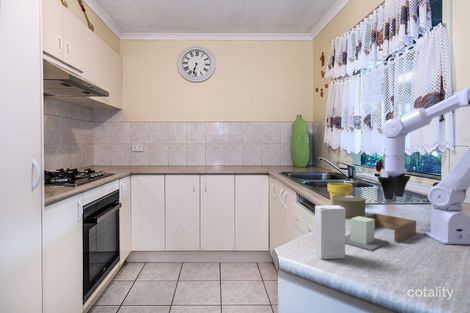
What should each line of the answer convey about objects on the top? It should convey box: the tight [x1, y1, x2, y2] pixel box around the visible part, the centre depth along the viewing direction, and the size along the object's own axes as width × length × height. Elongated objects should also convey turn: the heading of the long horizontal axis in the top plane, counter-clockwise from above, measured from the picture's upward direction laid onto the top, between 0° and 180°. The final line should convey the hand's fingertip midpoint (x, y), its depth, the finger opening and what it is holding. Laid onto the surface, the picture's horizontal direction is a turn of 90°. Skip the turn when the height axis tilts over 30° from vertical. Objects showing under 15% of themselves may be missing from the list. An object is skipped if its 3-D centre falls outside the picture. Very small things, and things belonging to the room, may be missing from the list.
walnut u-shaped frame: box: [363, 212, 417, 243], centre depth 88 cm, size 13×13×4 cm
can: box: [331, 195, 367, 220], centre depth 110 cm, size 12×12×7 cm
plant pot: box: [327, 182, 353, 205], centre depth 128 cm, size 10×10×10 cm
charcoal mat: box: [345, 234, 390, 252], centre depth 80 cm, size 10×10×1 cm
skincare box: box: [314, 204, 346, 260], centre depth 70 cm, size 6×4×12 cm
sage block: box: [349, 216, 376, 244], centre depth 80 cm, size 4×4×6 cm
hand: (393, 197), depth 96 cm, fingers open, 7 cm apart
